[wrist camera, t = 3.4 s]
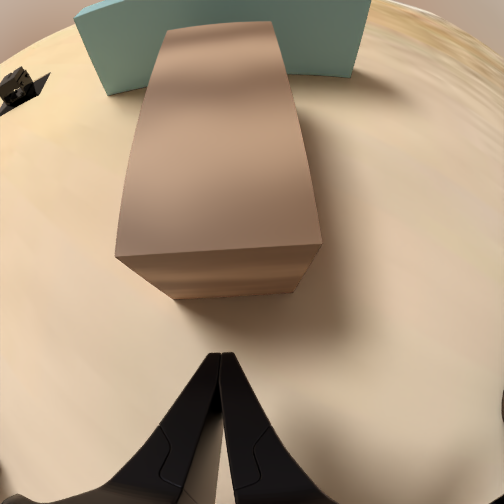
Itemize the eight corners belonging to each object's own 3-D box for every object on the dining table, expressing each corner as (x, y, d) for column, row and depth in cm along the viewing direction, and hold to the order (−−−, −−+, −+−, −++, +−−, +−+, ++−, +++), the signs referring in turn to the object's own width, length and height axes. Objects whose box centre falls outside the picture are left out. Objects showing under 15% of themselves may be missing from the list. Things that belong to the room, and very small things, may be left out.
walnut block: (292, 293, 17) (322, 243, 9) (173, 299, 17) (114, 256, 9) (268, 101, 22) (271, 21, 15) (185, 107, 22) (167, 30, 15)
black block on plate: (62, 68, 27) (51, 45, 23) (46, 98, 25) (31, 73, 21) (4, 99, 27) (-9, 81, 23) (-13, 131, 24) (-29, 112, 20)
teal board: (350, 77, 23) (373, -7, 14) (107, 95, 23) (73, 18, 14) (329, 39, 26) (341, -30, 17) (126, 54, 26) (105, -12, 16)
